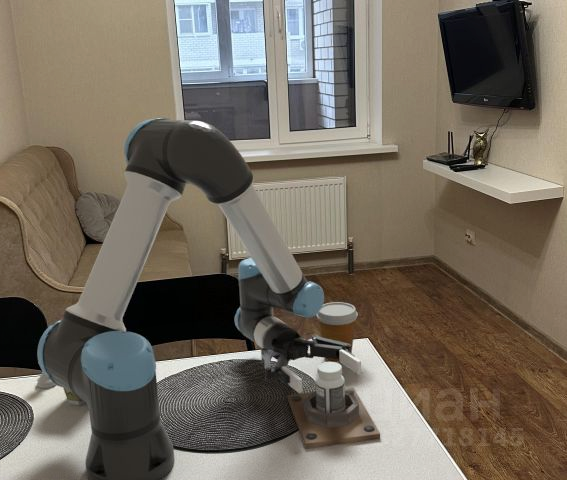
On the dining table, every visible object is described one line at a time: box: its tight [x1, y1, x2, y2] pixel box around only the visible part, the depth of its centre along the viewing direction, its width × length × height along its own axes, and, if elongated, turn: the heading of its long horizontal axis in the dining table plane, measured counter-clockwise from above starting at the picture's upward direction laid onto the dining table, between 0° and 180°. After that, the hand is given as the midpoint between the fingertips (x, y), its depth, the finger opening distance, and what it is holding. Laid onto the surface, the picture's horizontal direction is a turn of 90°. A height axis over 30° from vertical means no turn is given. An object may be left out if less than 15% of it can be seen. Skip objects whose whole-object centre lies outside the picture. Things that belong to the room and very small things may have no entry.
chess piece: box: [36, 362, 57, 389], centre depth 145 cm, size 5×5×8 cm
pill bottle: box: [314, 361, 346, 413], centre depth 126 cm, size 6×6×10 cm
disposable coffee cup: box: [315, 301, 358, 363], centre depth 152 cm, size 10×10×12 cm
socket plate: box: [287, 387, 381, 449], centre depth 127 cm, size 14×18×4 cm
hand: (330, 376), depth 126 cm, fingers open, 13 cm apart
